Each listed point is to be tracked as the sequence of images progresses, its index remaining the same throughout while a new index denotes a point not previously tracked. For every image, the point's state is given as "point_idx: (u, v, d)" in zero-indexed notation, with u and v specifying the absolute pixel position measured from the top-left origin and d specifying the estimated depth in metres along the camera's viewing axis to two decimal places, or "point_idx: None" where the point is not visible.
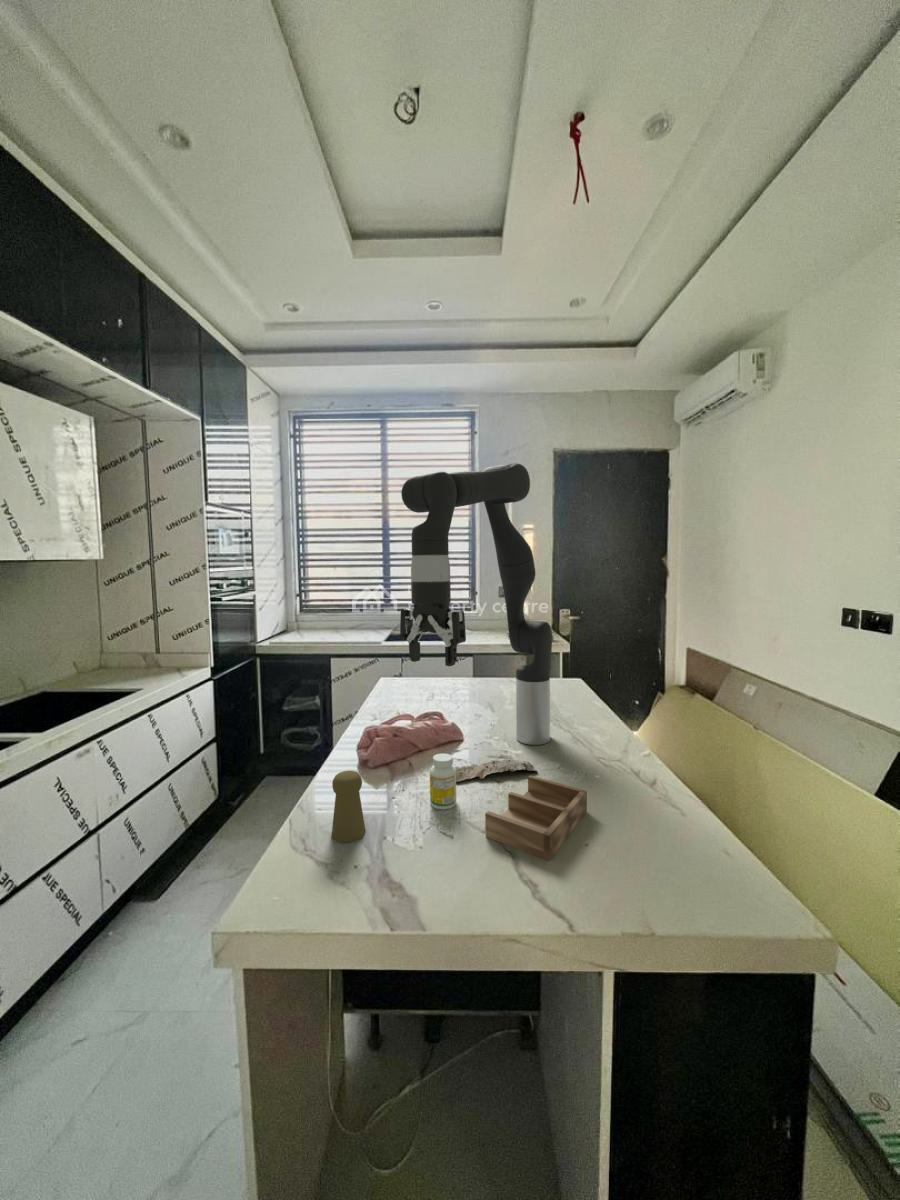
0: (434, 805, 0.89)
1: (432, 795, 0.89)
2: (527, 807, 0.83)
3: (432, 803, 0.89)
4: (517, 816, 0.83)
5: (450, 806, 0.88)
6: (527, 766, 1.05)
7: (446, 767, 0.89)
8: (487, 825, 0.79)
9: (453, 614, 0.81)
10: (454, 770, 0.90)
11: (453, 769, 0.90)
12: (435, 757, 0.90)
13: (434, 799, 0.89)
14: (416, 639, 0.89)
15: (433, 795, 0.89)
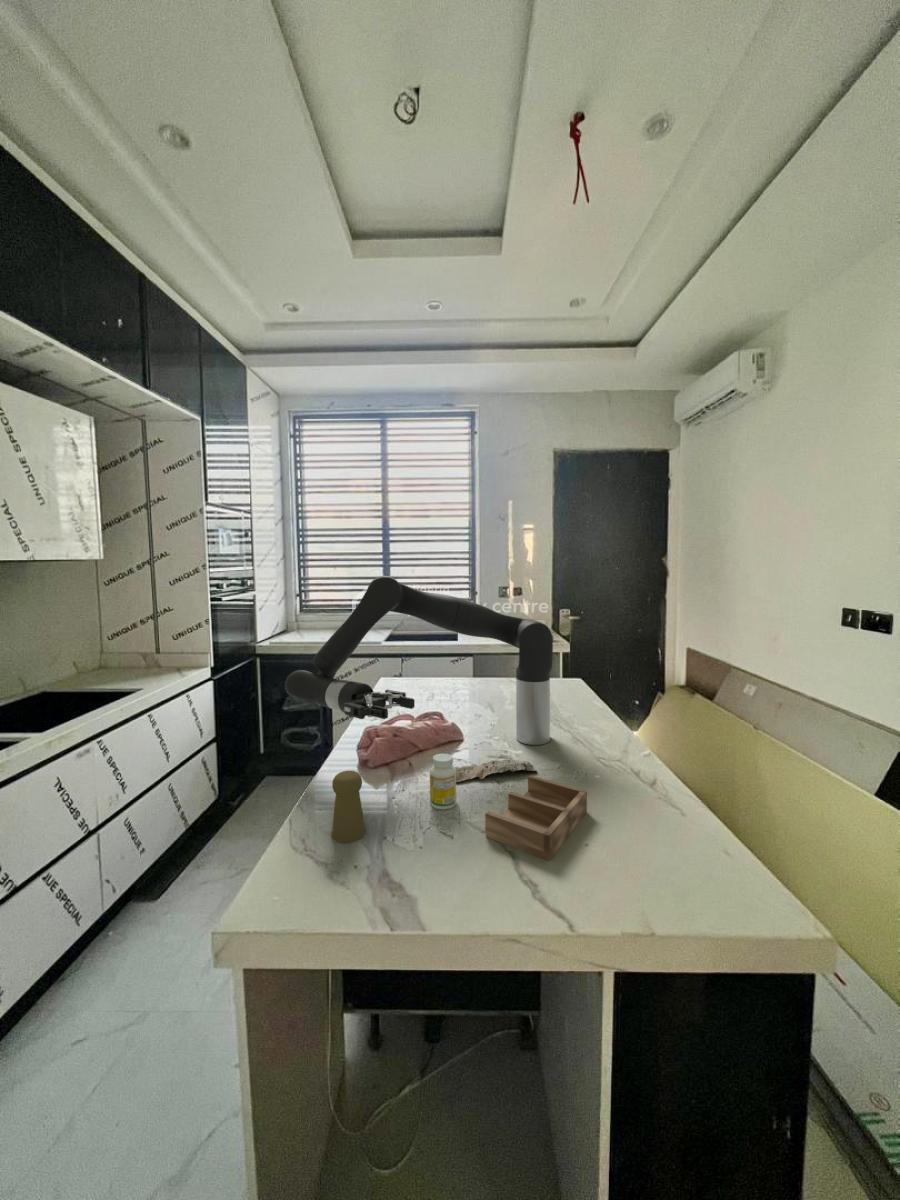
0: (434, 805, 0.89)
1: (432, 795, 0.89)
2: (527, 807, 0.83)
3: (432, 803, 0.89)
4: (517, 816, 0.83)
5: (450, 806, 0.88)
6: (527, 766, 1.05)
7: (446, 767, 0.89)
8: (487, 825, 0.79)
9: None
10: (454, 770, 0.90)
11: (453, 769, 0.90)
12: (435, 757, 0.90)
13: (434, 799, 0.89)
14: (398, 700, 1.02)
15: (433, 795, 0.89)
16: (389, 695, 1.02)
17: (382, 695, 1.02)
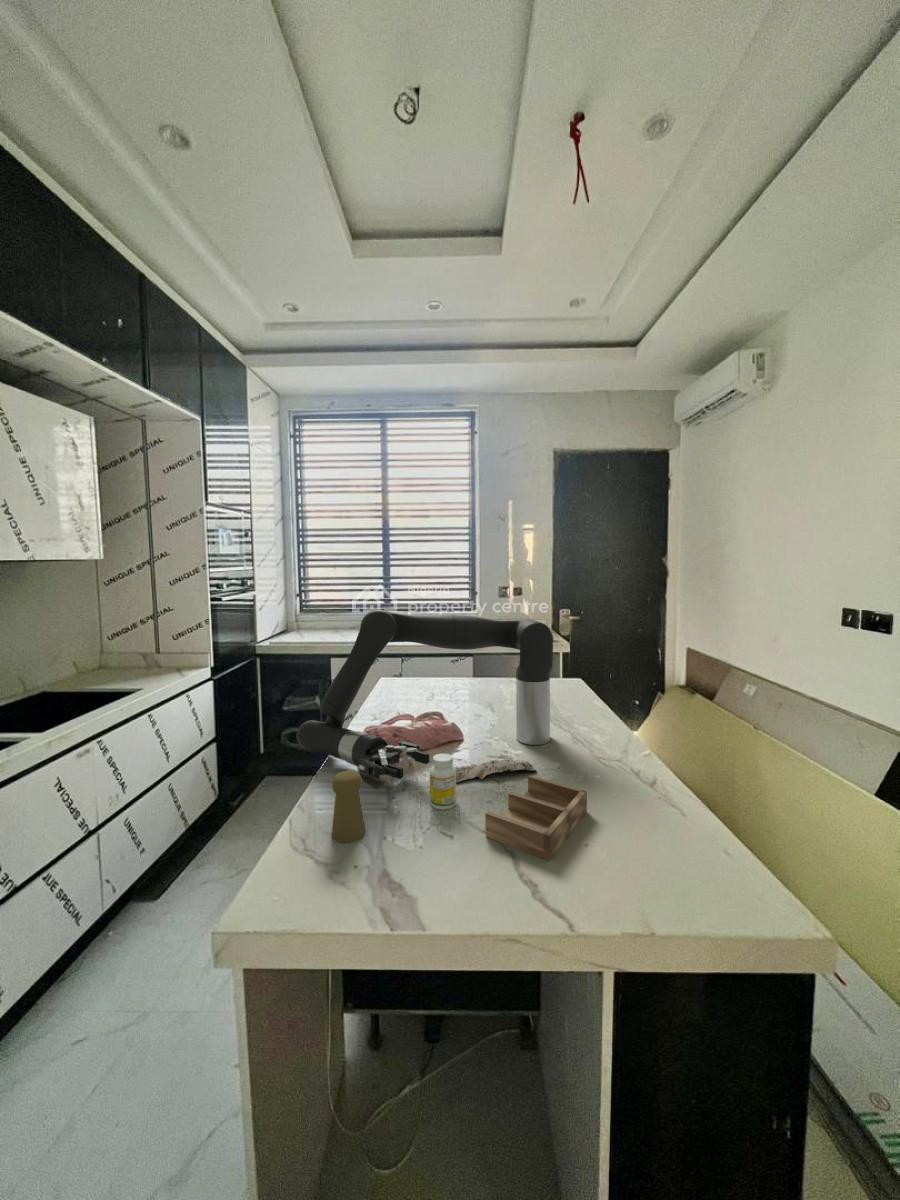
0: (434, 805, 0.89)
1: (432, 795, 0.89)
2: (527, 807, 0.83)
3: (432, 803, 0.89)
4: (517, 816, 0.83)
5: (450, 806, 0.88)
6: (526, 766, 1.05)
7: (446, 767, 0.89)
8: (487, 825, 0.79)
9: None
10: (454, 770, 0.90)
11: (453, 769, 0.90)
12: (435, 757, 0.90)
13: (434, 799, 0.89)
14: (413, 754, 1.00)
15: (433, 795, 0.89)
16: (403, 749, 1.00)
17: (396, 749, 1.00)
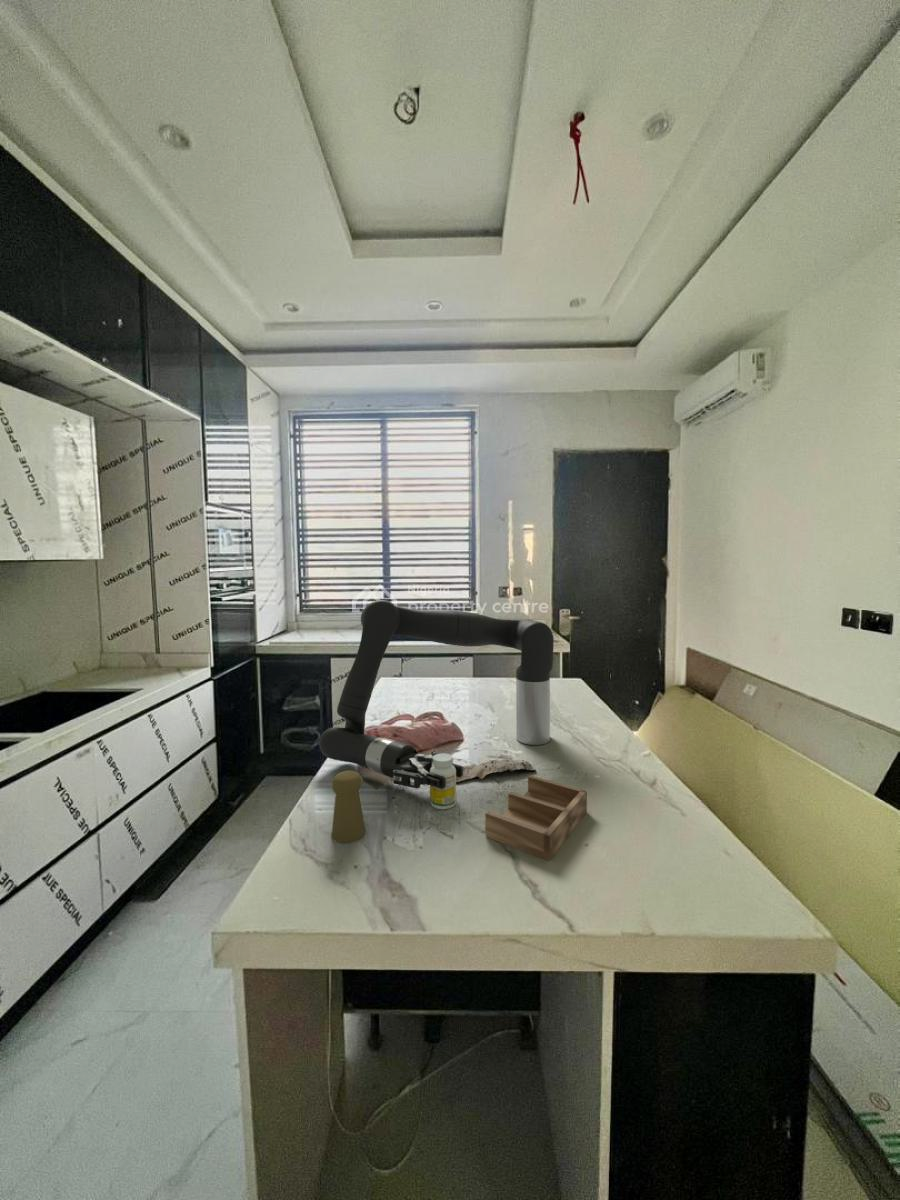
0: (434, 805, 0.89)
1: (432, 794, 0.89)
2: (527, 807, 0.83)
3: (432, 803, 0.89)
4: (517, 816, 0.83)
5: (450, 806, 0.88)
6: (526, 765, 1.05)
7: (446, 767, 0.89)
8: (487, 825, 0.79)
9: None
10: (454, 770, 0.90)
11: (453, 769, 0.89)
12: (435, 757, 0.90)
13: (434, 799, 0.89)
14: None
15: (433, 795, 0.89)
16: None
17: (427, 759, 0.95)
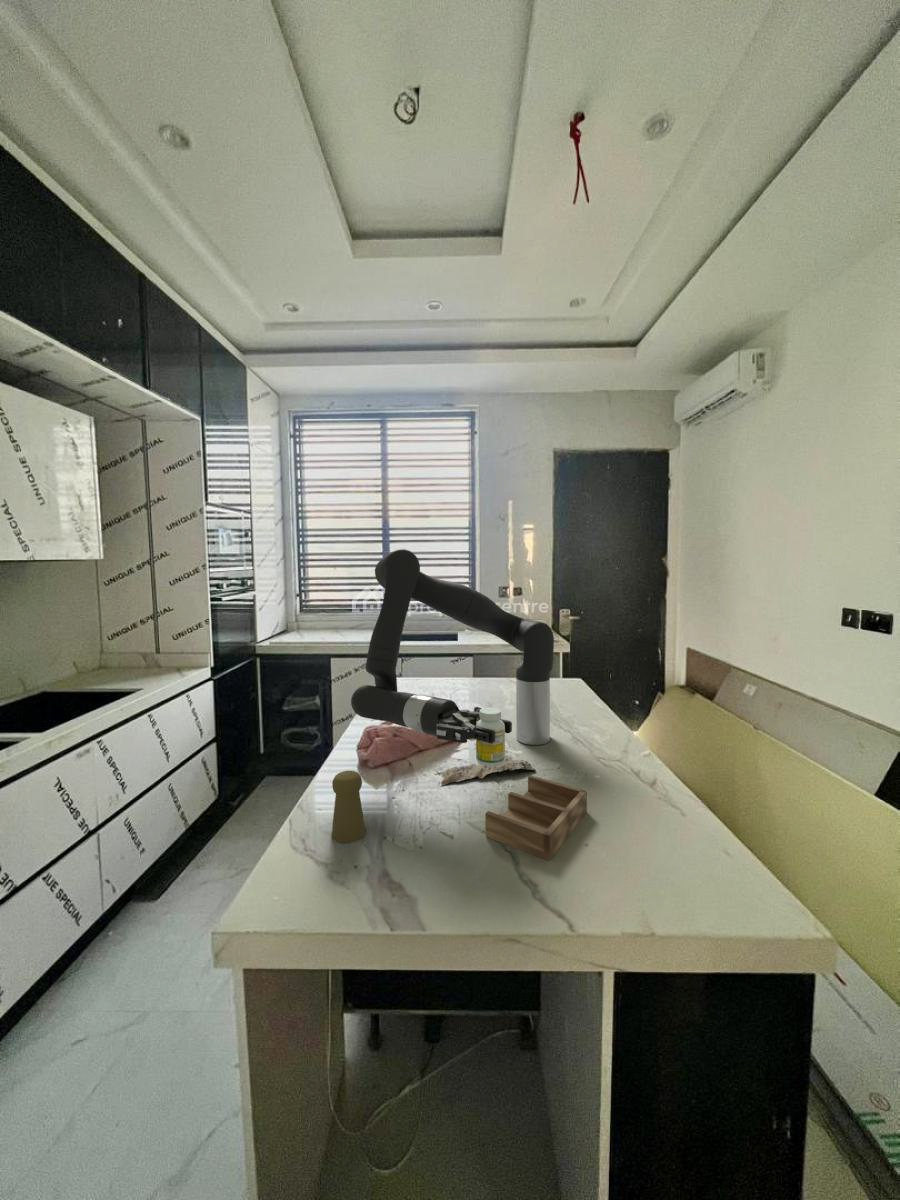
0: (481, 762, 0.81)
1: (479, 751, 0.81)
2: (527, 807, 0.83)
3: (479, 760, 0.82)
4: (517, 816, 0.83)
5: (499, 763, 0.81)
6: (525, 765, 1.06)
7: (495, 720, 0.81)
8: (487, 825, 0.79)
9: None
10: (503, 724, 0.82)
11: (502, 723, 0.82)
12: (482, 710, 0.82)
13: (481, 755, 0.81)
14: None
15: (481, 751, 0.81)
16: None
17: (471, 715, 0.87)
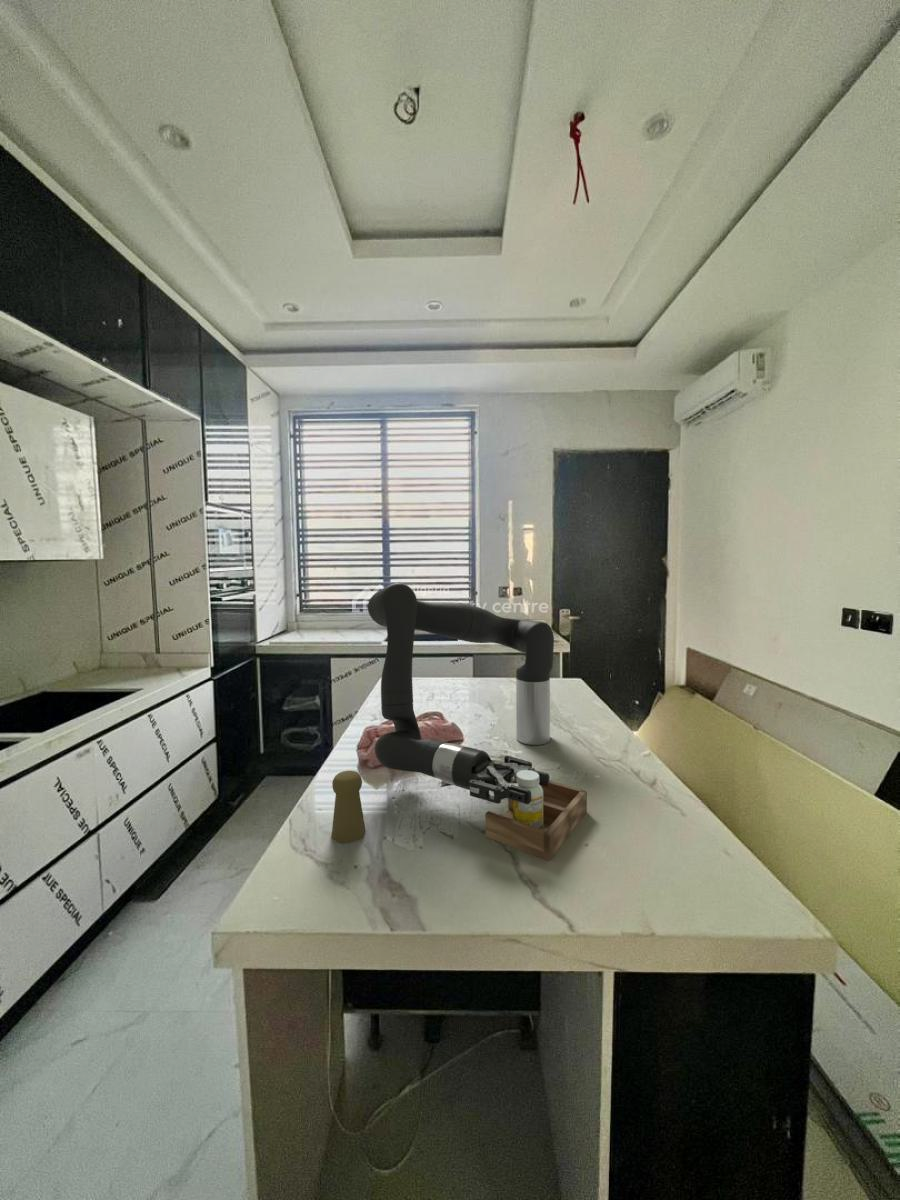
0: None
1: (517, 818, 0.78)
2: None
3: None
4: None
5: None
6: None
7: (533, 786, 0.77)
8: (487, 825, 0.79)
9: None
10: (541, 790, 0.78)
11: (540, 788, 0.78)
12: (519, 775, 0.79)
13: None
14: None
15: (519, 818, 0.77)
16: (515, 767, 0.83)
17: (506, 767, 0.83)
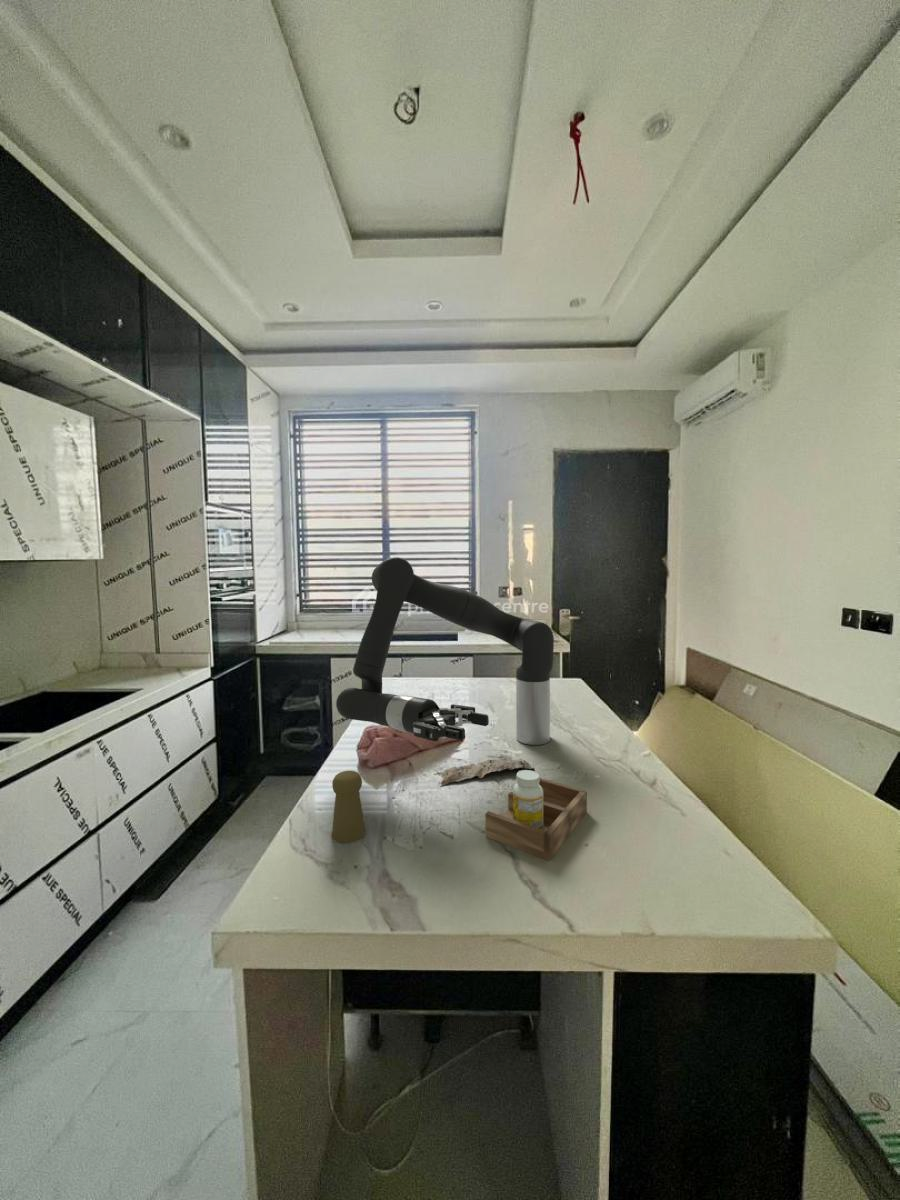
0: None
1: (517, 818, 0.78)
2: None
3: None
4: None
5: None
6: (524, 764, 1.06)
7: (533, 786, 0.77)
8: (487, 825, 0.79)
9: None
10: (541, 790, 0.78)
11: (540, 788, 0.78)
12: (519, 775, 0.79)
13: None
14: (469, 716, 0.92)
15: (519, 818, 0.77)
16: (459, 711, 0.92)
17: (451, 712, 0.92)
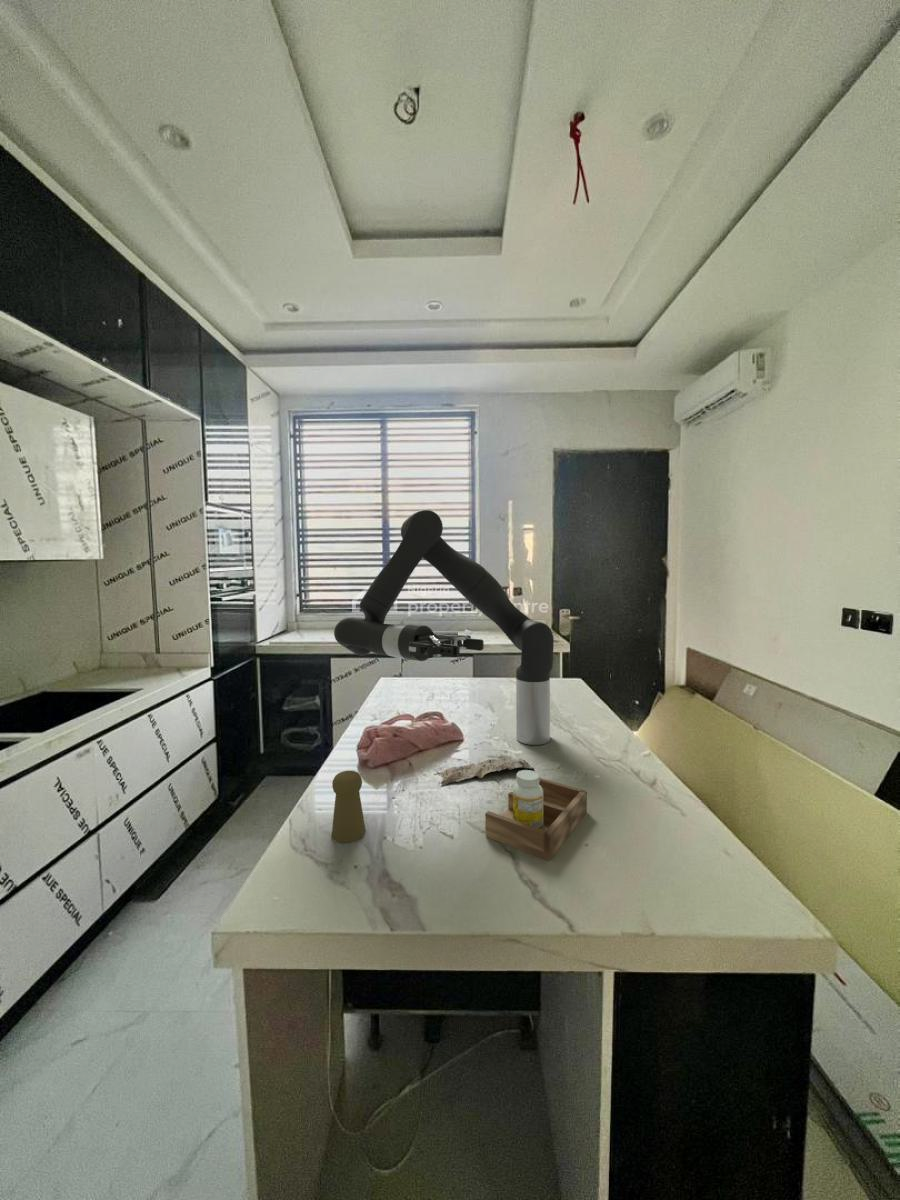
0: None
1: (517, 818, 0.78)
2: None
3: None
4: None
5: None
6: (523, 764, 1.06)
7: (533, 786, 0.77)
8: (487, 825, 0.79)
9: None
10: (541, 790, 0.78)
11: (540, 788, 0.78)
12: (519, 775, 0.79)
13: None
14: (464, 642, 0.93)
15: (519, 818, 0.77)
16: (454, 637, 0.93)
17: (446, 637, 0.93)
